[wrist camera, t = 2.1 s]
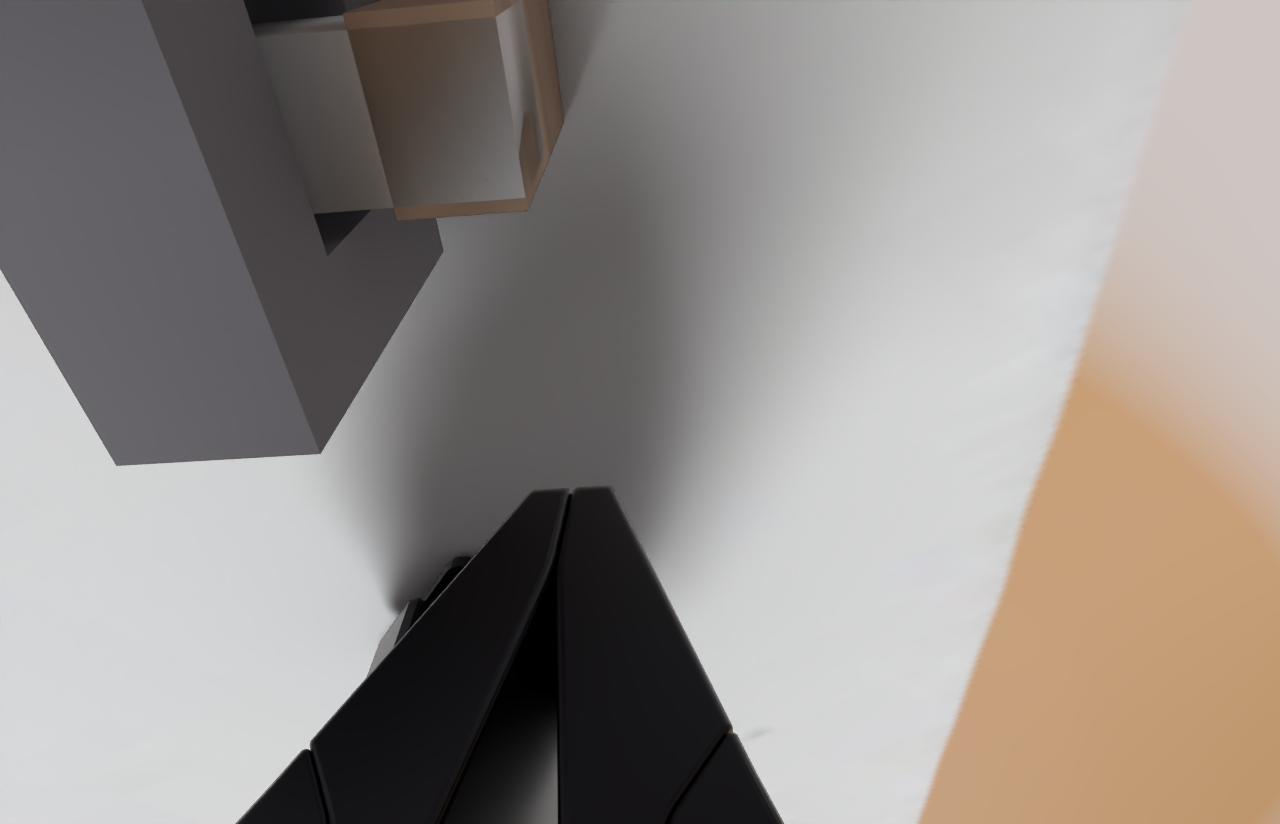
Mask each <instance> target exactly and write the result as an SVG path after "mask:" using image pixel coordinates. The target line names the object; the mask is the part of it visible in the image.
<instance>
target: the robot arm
mask: <svg viewBox="0 0 1280 824" xmlns="http://www.w3.org/2000/svg"><path fill="white" fill-rule="evenodd" d="M310 749H311V751H310V750H309V749H304V750H302V751H301V752H300V753H299V754H298V755H297V757H296V758H295V759H294V760H293V761H292V762H291V763H290V764H289V766H288V767H287V768H286V769H285V770H284V771H283V772H282V773H281V775H280V776H279V777H278V778H277V779H276V780H275V781H274V783H273V784H272V785H271V786H270V787H269V788H268V789H267V790H266V791H265V792H264V794H263V795H262V796H261V797H260V798H259V799H258V800H257V801H256V802H255V803H254V804H253V805H252V807H251V808H250V809H249V810H248V811H247V812H246V813H245V814H244V815H243V816H242V817H241V818H240V820H239V821H238V822H237V823H236V824H784V823H783V821H782V819H781V817H780V815H779V813H778V812H777V810H776V808H775V806H774V804H773V802H772V801H771V799H770V797H769V795H768V793H767V791H766V790H765V788H764V786H763V784H762V782H761V780H760V779H759V777H758V775H757V773H756V771H755V769H754V767H753V765H752V763H751V761H750V759H749V757H748V755H747V753H746V751H745V749H744V747H743V745H742V743H741V741H740V739H739V737H738V736H737V734H735V733H733V727H732V724H731V722H730V720H729V718H728V716H727V714H726V712H725V710H724V708H723V706H722V704H721V702H720V700H719V698H718V696H717V694H716V692H715V690H714V688H713V686H712V684H711V682H710V680H709V678H708V676H707V674H706V672H705V670H704V668H703V666H702V664H701V662H700V660H699V658H698V656H697V654H696V652H695V650H694V648H693V646H692V645H691V643H690V641H689V639H688V637H687V635H686V633H685V631H684V629H683V627H682V625H681V623H680V621H679V619H678V617H677V615H676V613H675V611H674V609H673V607H672V605H671V603H670V601H669V599H668V597H667V595H666V593H665V591H664V589H663V587H662V585H661V583H660V581H659V579H658V577H657V575H656V573H655V571H654V569H653V567H652V565H651V563H650V561H649V559H648V557H647V555H646V553H645V551H644V549H643V547H642V545H641V543H640V541H639V539H638V537H637V535H636V533H635V531H634V529H633V527H632V525H631V523H630V521H629V519H628V517H627V515H626V513H625V511H624V509H623V507H622V505H621V503H620V501H619V499H618V497H617V495H616V493H615V491H614V489H613V488H612V487H610V486H592V487H579V488H576V489H575V490H574V491H573V493H572V492H571V490H569V489H568V488H557V489H538V490H534V491H532V492H531V493H530V494H529V495H528V496H527V497H526V498H525V499H524V500H523V501H522V502H521V504H520V505H519V506H518V507H517V508H516V509H515V510H514V512H513V513H512V514H511V515H510V516H509V517H508V518H507V519H506V521H505V522H504V523H503V524H502V525H501V526H500V527H499V529H498V530H497V531H496V532H495V533H494V534H493V535H492V536H491V538H490V539H489V540H488V541H487V542H486V543H485V544H484V545H483V547H482V548H481V549H480V550H479V551H478V552H477V553H476V555H475V556H474V557H473V558H472V559H471V558H467V557H457V558H454V559H453V560H451V561H450V562H449V564H448V565H447V567H446V568H445V569H444V571H443V572H442V573H441V575H440V576H439V578H438V579H437V580H436V582H435V583H434V584H433V586H432V587H431V589H430V590H429V591H428V593H427V594H426V595H425V597H424V598H423V599H421V598H415V599H413V600H410V601H409V602H408V603H407V605H406V606H405V607H404V609H403V610H402V612H401V613H400V614H399V616H398V617H397V619H396V620H395V621H394V623H393V624H392V626H391V627H390V628H389V630H388V631H387V633H386V634H385V635H384V637H383V638H382V640H381V641H380V643H379V645H378V648H377V651H376V654H375V656H374V659H373V662H372V664H371V667H370V670H369V673H368V675H367V678H366V679H365V680H364V681H363V682H362V683H361V685H360V686H359V687H358V688H357V689H356V690H355V691H354V693H353V694H352V695H351V696H350V697H349V698H348V699H347V700H346V702H345V703H344V704H343V705H342V706H341V707H340V708H339V710H338V711H337V712H336V713H335V714H334V715H333V716H332V717H331V719H330V720H329V721H328V722H327V723H326V724H325V725H324V726H323V728H322V729H321V730H320V731H319V732H318V733H317V734H316V736H315V737H314V738H313V739H312V740H311V742H310Z"/></svg>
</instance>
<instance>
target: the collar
mask: <svg viewBox="0 0 1280 824" xmlns="http://www.w3.org/2000/svg"><path fill="white" fill-rule="evenodd" d="M378 1H381V0H0V269H1V271H2V273H3V274H4V276H5V278H6V279H7V281H8V283H9V285H10V286H11V288H12V290H13V291H14V293H15V295H16V296H17V298H18V300H19V301H20V303H21V305H22V307H23V308H24V310H25V312H26V313H27V315H28V317H29V318H30V320H31V322H32V323H33V325H34V327H35V329H36V330H37V332H38V334H39V335H40V337H41V339H42V340H43V342H44V344H45V346H46V347H47V349H48V351H49V352H50V354H51V356H52V357H53V359H54V361H55V362H56V364H57V366H58V368H59V369H60V371H61V373H62V374H63V376H64V378H65V379H66V381H67V383H68V384H69V386H70V388H71V390H72V391H73V393H74V395H75V396H76V398H77V400H78V401H79V403H80V405H81V407H82V408H83V410H84V412H85V413H86V415H87V417H88V418H89V420H90V422H91V423H92V425H93V427H94V429H95V430H96V432H97V434H98V435H99V437H100V439H101V440H102V442H103V444H104V445H105V447H106V449H107V451H108V452H109V454H110V456H111V457H112V459H113V461H114V462H115V464H116V466H121V465H138V464H156V463H173V462H190V461H207V460H224V459H241V458H258V457H275V456H292V455H309V454H321V452H322V450H323V449H324V447H325V445H326V444H327V442H328V441H329V439H330V437H331V436H332V434H333V432H334V431H335V429H336V427H337V426H338V424H339V422H340V421H341V419H342V418H343V416H344V414H345V413H346V411H347V409H348V408H349V406H350V404H351V403H352V401H353V399H354V398H355V396H356V394H357V393H358V391H359V390H360V388H361V386H362V385H363V383H364V381H365V380H366V378H367V376H368V375H369V373H370V371H371V370H372V368H373V367H374V365H375V363H376V362H377V360H378V358H379V357H380V355H381V353H382V352H383V350H384V348H385V347H386V345H387V343H388V342H389V340H390V339H391V337H392V335H393V334H394V332H395V330H396V329H397V327H398V325H399V324H400V322H401V320H402V319H403V317H404V316H405V314H406V312H407V311H408V309H409V307H410V306H411V304H412V302H413V301H414V299H415V297H416V296H417V294H418V292H419V291H420V289H421V288H422V286H423V284H424V283H425V281H426V279H427V278H428V276H429V274H430V273H431V271H432V269H433V268H434V266H435V265H436V263H437V261H438V260H439V258H440V256H441V255H442V253H443V247H442V243H441V239H440V234H439V230H438V226H437V222H436V218H426V219H413V220H400V221H397V217H396V213H395V210H394V208H384V209H371V210H358V211H344V212H331V213H318V214H313V211H312V208H311V205H310V202H309V199H308V196H307V193H306V189H305V186H304V183H303V180H302V177H301V174H300V171H299V168H298V165H297V162H296V159H295V156H294V153H293V150H292V147H291V144H290V141H289V138H288V135H287V132H286V129H285V126H284V122H283V119H282V116H281V113H280V110H279V107H278V104H277V101H276V98H275V95H274V92H273V89H272V86H271V83H270V80H269V77H268V74H267V71H266V68H265V65H264V62H263V58H262V55H261V52H260V49H259V46H258V43H257V40H256V37H255V34H254V31H253V28H252V25H251V24H253V23H264V22H275V21H286V20H297V19H308V18H320V17H331V16H342V15H343V14H342V13H344V12H347V11H350V10H353V9H357V8H360V7H363V6H366V5H369V4H372V3H375V2H378Z"/></svg>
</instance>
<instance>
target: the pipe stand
mask: <svg viewBox="0 0 1280 824" xmlns="http://www.w3.org/2000/svg"><path fill="white" fill-rule="evenodd" d="M342 14H343V15H342V16H331V17H320V18H308V19H297V20H286V21H275V22H264V23H253V24H251V25H252V28H253V31H254V34H255V37H256V40H257V43H258V46H259V49H260V52H261V55H262V58H263V62H264V65H265V68H266V71H267V74H268V77H269V80H270V83H271V86H272V89H273V92H274V95H275V98H276V101H277V104H278V107H279V110H280V113H281V116H282V119H283V122H284V126H285V129H286V132H287V135H288V138H289V141H290V144H291V147H292V150H293V153H294V156H295V159H296V162H297V165H298V168H299V171H300V174H301V177H302V180H303V183H304V186H305V189H306V193H307V196H308V199H309V202H310V205H311V208H312V211H313V214H318V213H331V212H344V211H358V210H371V209H384V208H394V210H395V213H396V217H397V221H400V220H413V219H426V218H440V217H453V216H467V215H480V214H493V213H507V212H520V211H528V209H529V207H530V204H531V202H532V199H533V197H534V194H535V192H536V190H537V187H538V185H539V182H540V180H541V177H542V175H543V172H544V170H545V167H546V165H547V163H548V160H549V158H550V155H551V153H552V150H553V148H554V145H555V143H556V140H557V138H558V136H559V133H560V131H561V128H562V126H563V123H564V120H563V113H562V105H561V97H560V89H559V82H558V74H557V66H556V58H555V51H554V43H553V35H552V28H551V20H550V12H549V4H548V0H381V1H378V2H375V3H372V4H369V5H366V6H363V7H360V8H357V9H353V10H350V11H347V12H344V13H342Z"/></svg>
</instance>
